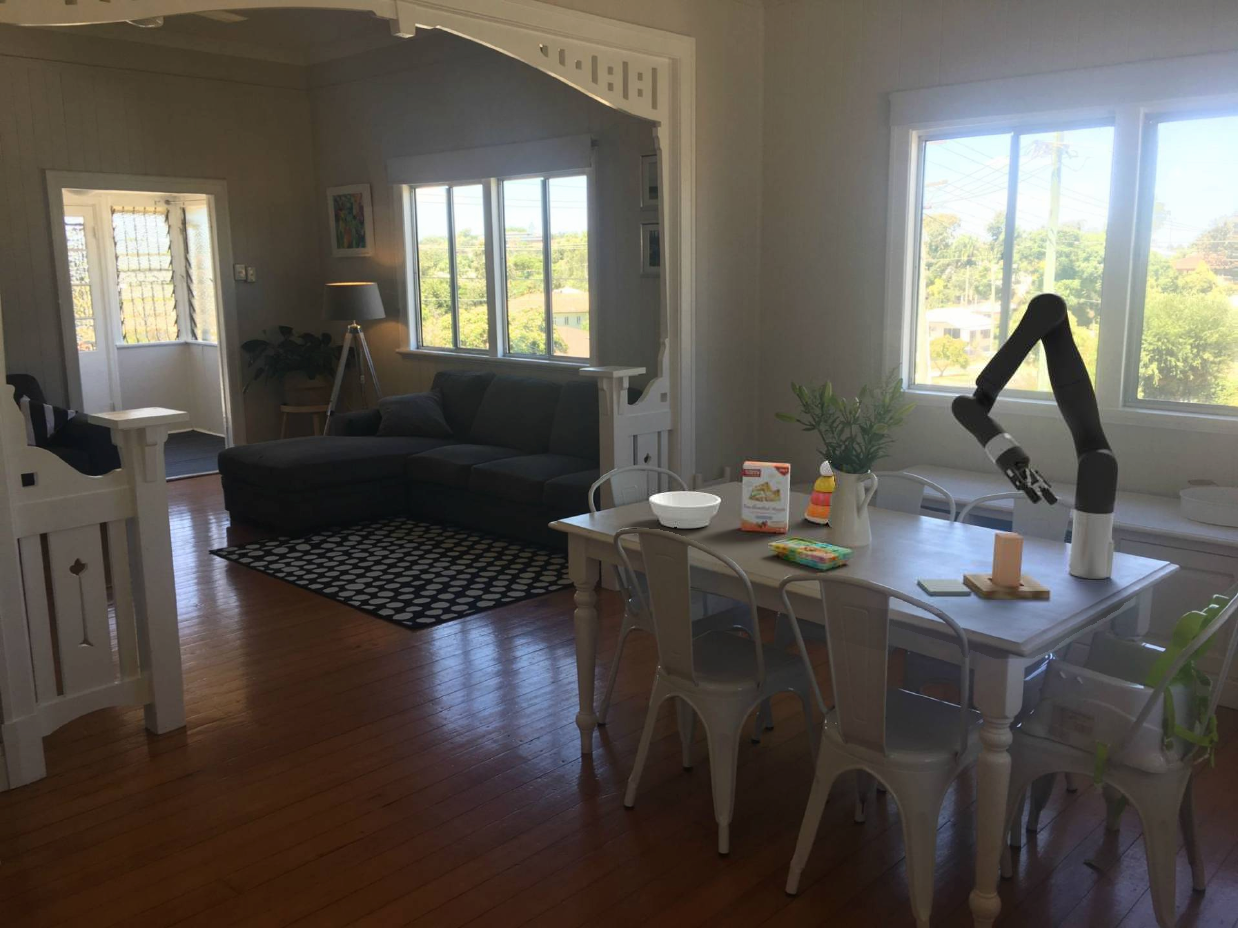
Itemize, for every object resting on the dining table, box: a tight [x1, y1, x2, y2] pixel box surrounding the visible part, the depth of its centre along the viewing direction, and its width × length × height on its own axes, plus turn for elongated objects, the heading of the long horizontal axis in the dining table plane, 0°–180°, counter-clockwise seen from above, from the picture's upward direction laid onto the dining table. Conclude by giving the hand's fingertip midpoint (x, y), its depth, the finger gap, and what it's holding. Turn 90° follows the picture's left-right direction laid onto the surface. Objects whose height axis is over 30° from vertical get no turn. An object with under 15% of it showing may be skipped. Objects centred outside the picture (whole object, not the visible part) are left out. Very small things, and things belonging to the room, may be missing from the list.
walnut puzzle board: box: [962, 573, 1051, 600], centre depth 249 cm, size 16×14×2 cm
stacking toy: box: [804, 460, 835, 525], centre depth 319 cm, size 14×14×20 cm
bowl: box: [648, 491, 722, 529], centre depth 315 cm, size 22×22×8 cm
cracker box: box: [740, 460, 791, 534], centre depth 307 cm, size 14×6×21 cm, turn 76°
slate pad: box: [917, 578, 972, 596], centre depth 250 cm, size 10×10×1 cm
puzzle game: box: [767, 536, 854, 571], centre depth 276 cm, size 12×5×20 cm
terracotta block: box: [991, 532, 1024, 587], centre depth 248 cm, size 5×5×14 cm
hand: (1046, 502), depth 251 cm, fingers open, 8 cm apart
